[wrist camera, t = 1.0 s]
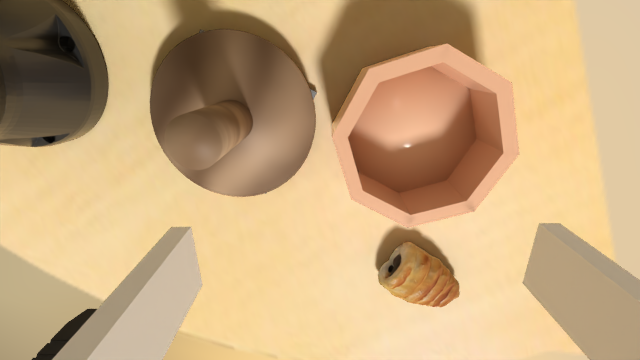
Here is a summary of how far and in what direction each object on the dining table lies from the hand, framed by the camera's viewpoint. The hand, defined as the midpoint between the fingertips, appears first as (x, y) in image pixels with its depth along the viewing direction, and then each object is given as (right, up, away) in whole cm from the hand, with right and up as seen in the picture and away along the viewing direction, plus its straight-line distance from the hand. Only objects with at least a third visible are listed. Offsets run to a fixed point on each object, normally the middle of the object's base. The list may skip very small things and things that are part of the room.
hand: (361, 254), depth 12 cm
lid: (-10, +9, +19) cm, 23 cm away
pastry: (+10, -8, +26) cm, 29 cm away
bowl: (+7, +8, +19) cm, 22 cm away
